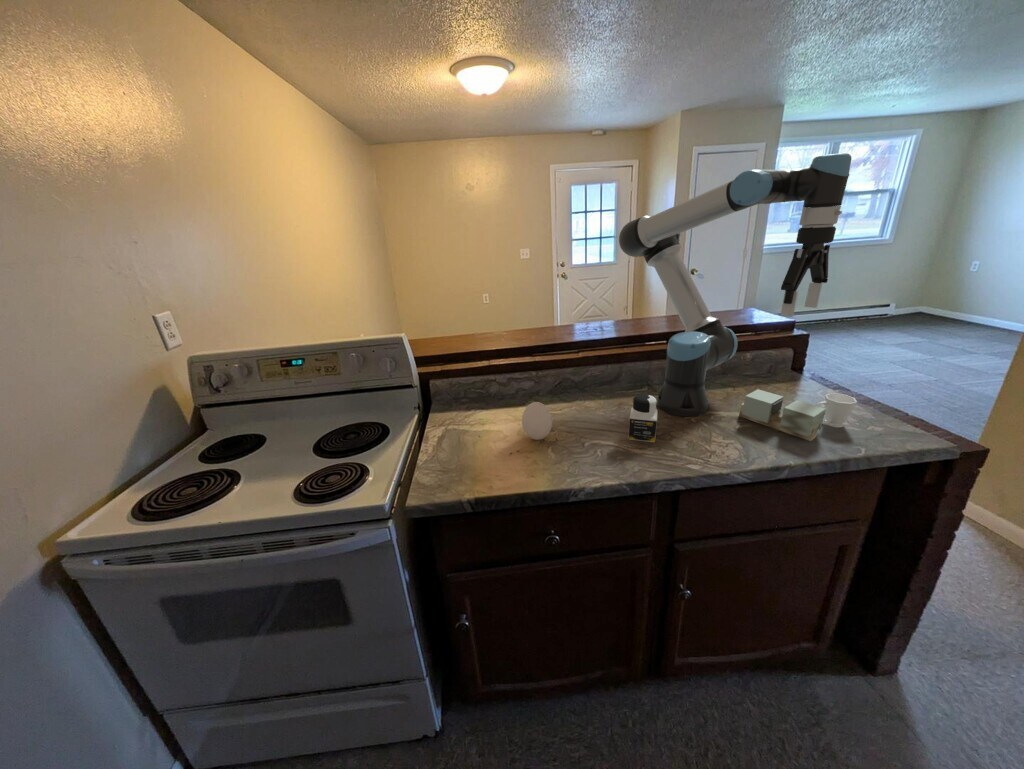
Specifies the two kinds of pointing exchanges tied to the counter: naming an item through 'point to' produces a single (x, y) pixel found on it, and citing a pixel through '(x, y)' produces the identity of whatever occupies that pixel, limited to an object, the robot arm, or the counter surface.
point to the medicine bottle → (643, 418)
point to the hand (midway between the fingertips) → (798, 311)
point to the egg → (536, 421)
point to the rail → (777, 423)
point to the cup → (837, 409)
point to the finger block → (762, 405)
